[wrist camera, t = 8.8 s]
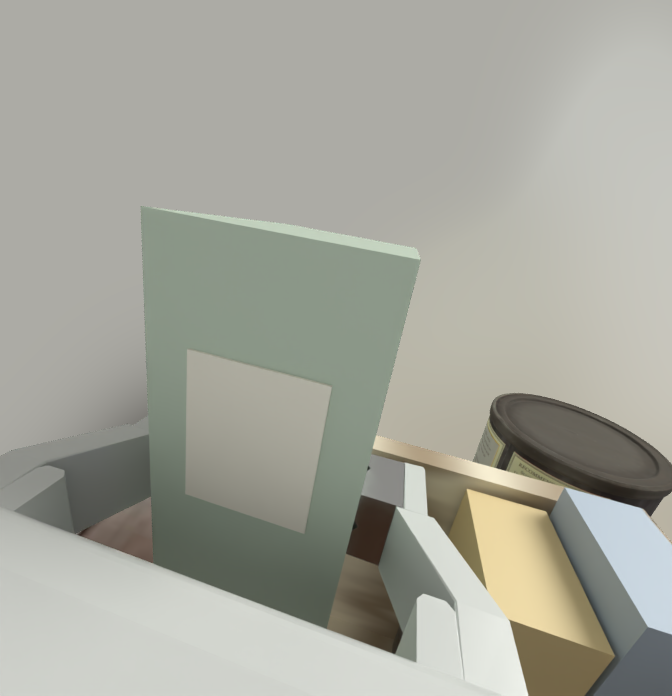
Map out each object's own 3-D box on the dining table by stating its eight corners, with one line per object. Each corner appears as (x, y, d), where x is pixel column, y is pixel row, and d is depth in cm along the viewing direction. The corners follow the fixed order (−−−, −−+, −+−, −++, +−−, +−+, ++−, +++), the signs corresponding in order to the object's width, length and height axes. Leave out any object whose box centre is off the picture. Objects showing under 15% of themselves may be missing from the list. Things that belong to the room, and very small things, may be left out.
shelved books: (521, 693, 19) (641, 508, 14) (560, 864, 13) (775, 668, 9) (404, 649, 20) (476, 462, 15) (399, 792, 15) (508, 580, 10)
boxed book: (339, 555, 14) (416, 248, 10) (292, 765, 9) (421, 260, 4) (254, 526, 15) (289, 224, 10) (157, 704, 9) (137, 205, 5)
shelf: (530, 681, 20) (643, 509, 15) (647, 1134, 10) (1107, 1058, 5) (235, 572, 23) (248, 400, 18) (95, 830, 13) (40, 600, 8)
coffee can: (549, 543, 30) (620, 414, 25) (603, 680, 21) (733, 516, 16) (437, 505, 32) (482, 379, 27) (440, 615, 23) (510, 452, 18)
